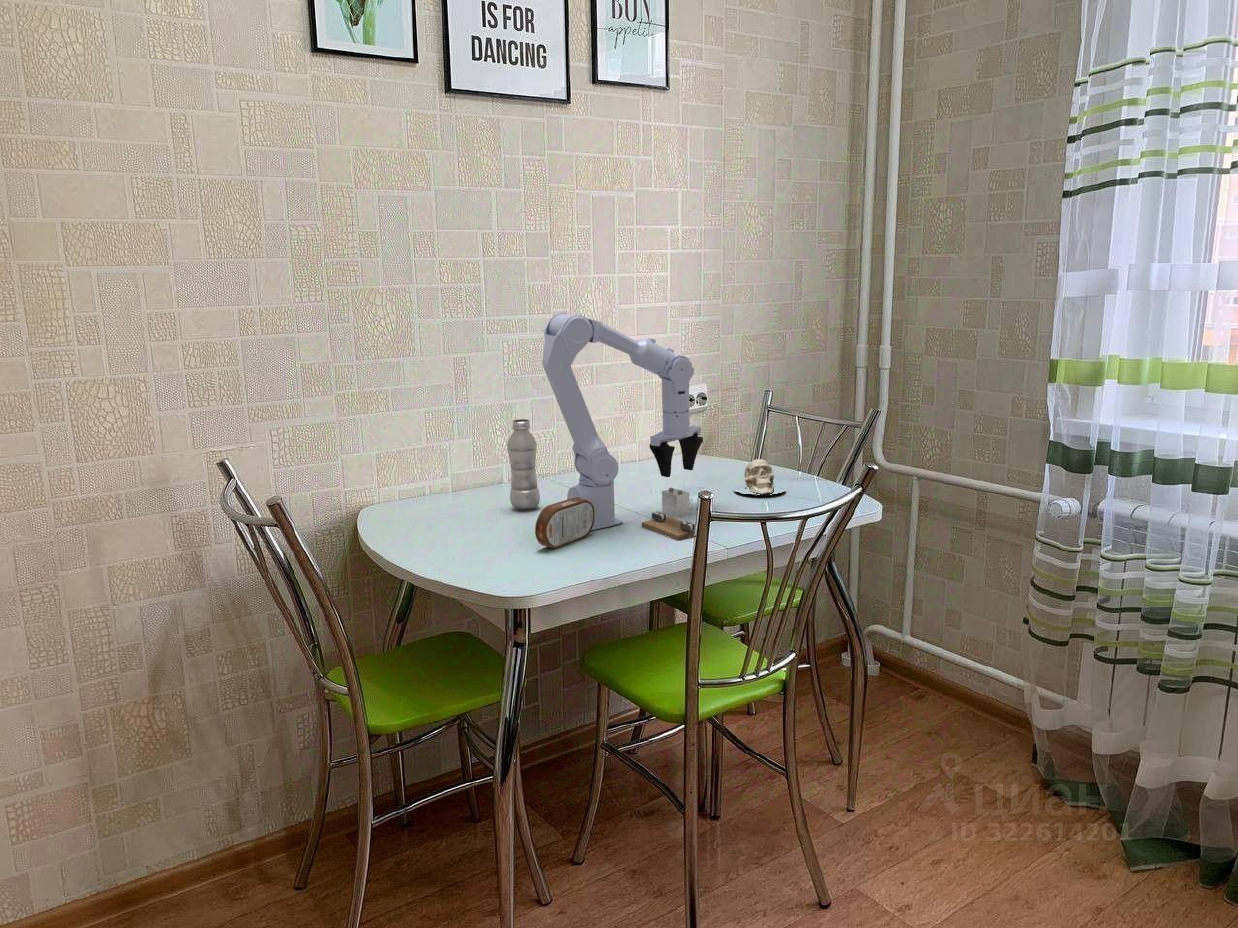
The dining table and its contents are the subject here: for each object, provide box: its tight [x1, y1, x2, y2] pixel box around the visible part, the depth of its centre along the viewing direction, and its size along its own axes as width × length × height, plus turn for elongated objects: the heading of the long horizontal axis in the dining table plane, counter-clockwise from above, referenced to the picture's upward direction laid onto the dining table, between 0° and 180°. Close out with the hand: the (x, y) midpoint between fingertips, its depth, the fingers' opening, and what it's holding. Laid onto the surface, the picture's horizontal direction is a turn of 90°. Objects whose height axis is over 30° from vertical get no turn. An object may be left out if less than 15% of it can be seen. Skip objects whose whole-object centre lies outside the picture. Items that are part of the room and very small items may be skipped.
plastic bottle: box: [506, 418, 541, 511], centre depth 203 cm, size 6×7×20 cm
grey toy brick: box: [661, 487, 690, 519], centre depth 198 cm, size 4×5×6 cm
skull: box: [743, 458, 775, 497], centre depth 214 cm, size 12×12×8 cm
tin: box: [534, 497, 595, 549], centre depth 180 cm, size 15×3×8 cm, turn 141°
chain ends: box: [651, 511, 696, 532], centre depth 187 cm, size 2×12×2 cm, turn 35°
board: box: [641, 515, 697, 541], centre depth 187 cm, size 7×12×1 cm, turn 35°
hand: (677, 472), depth 198 cm, fingers open, 7 cm apart
